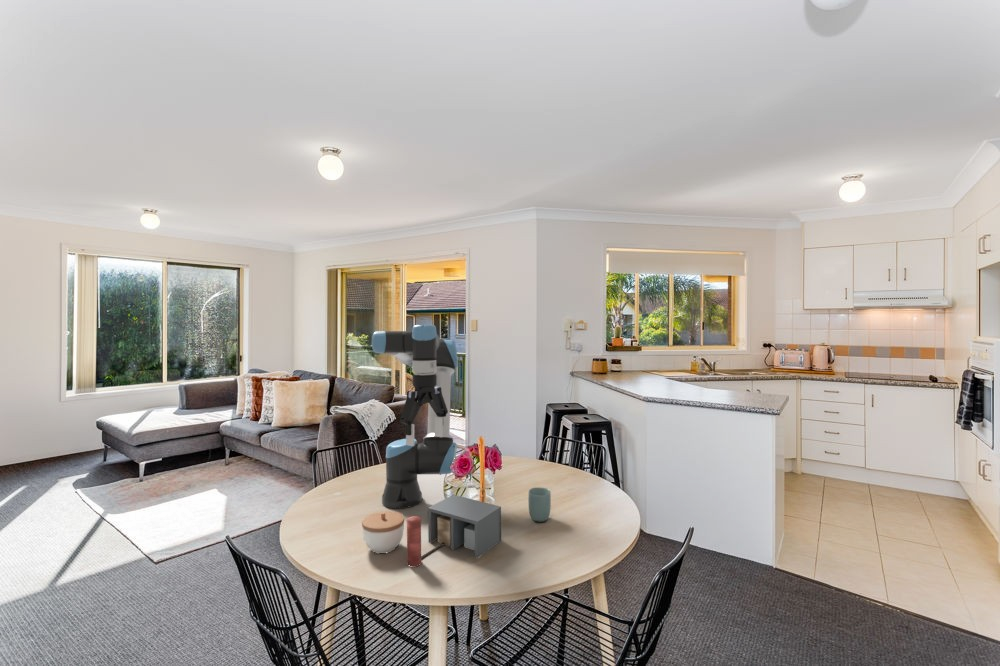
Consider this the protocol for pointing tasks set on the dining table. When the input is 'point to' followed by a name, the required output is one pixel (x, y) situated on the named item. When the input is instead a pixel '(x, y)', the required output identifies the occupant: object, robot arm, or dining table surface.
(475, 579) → the dining table surface
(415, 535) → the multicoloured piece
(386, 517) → the white lidded jar
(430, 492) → the dining table surface
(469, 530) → the block
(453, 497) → the cubby
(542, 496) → the cup
